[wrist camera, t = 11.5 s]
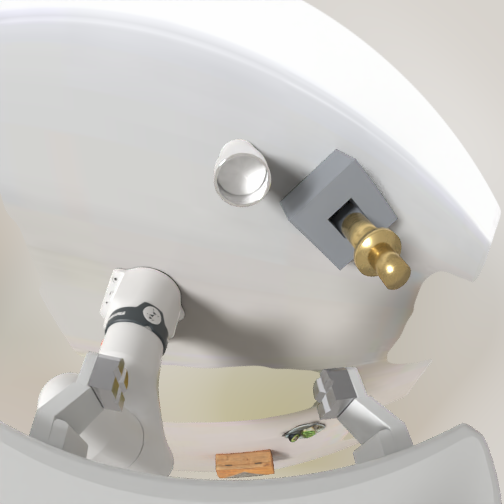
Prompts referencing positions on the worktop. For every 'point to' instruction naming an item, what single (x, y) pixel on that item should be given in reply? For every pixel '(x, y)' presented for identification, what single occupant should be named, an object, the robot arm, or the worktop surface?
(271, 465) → the wooden box
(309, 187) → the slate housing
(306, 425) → the salad plate
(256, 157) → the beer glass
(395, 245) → the brass knob plunger
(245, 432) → the worktop surface
